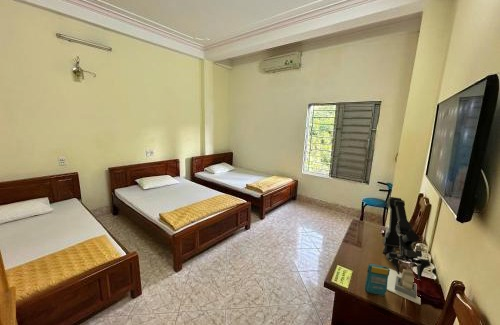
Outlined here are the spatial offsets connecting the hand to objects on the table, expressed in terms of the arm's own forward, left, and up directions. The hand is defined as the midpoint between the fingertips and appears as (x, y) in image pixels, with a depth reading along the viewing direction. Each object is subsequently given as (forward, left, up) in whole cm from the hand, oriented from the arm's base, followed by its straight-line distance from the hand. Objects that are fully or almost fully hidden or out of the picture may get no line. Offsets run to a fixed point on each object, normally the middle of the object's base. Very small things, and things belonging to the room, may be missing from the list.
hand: (408, 276), depth 110 cm
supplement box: (-49, -11, -9) cm, 51 cm away
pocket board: (-4, -1, -9) cm, 10 cm away
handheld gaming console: (+12, -13, -9) cm, 20 cm away
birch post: (-1, 0, -8) cm, 8 cm away
